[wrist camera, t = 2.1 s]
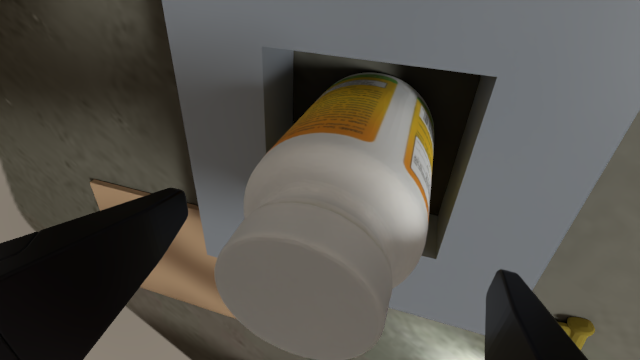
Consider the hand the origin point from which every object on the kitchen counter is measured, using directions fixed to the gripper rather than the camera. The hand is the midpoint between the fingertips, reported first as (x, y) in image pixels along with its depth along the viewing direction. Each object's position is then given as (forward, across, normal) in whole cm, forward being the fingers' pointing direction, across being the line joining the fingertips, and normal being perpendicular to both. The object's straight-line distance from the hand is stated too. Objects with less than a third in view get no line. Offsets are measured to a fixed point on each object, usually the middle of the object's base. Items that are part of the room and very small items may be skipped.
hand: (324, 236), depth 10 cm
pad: (+7, +13, +12) cm, 19 cm away
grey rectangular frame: (+7, 0, 0) cm, 7 cm away
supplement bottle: (+7, 0, 0) cm, 7 cm away
